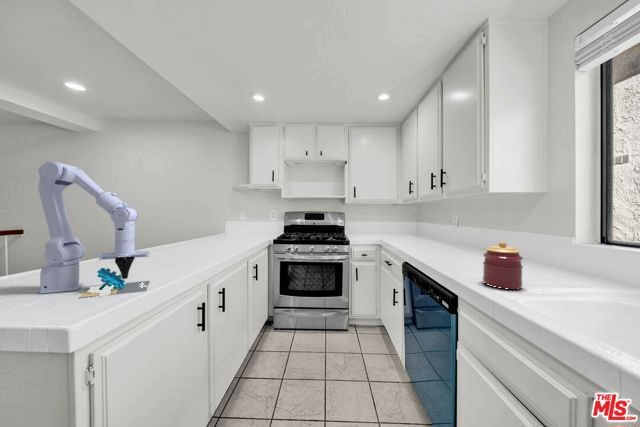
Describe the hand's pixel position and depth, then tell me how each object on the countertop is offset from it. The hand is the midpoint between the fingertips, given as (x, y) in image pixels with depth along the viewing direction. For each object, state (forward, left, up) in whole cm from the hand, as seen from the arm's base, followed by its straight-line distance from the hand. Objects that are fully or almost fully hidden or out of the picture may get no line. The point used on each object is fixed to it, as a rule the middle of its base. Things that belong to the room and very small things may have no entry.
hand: (125, 278), depth 96 cm
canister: (+130, -59, -4) cm, 143 cm away
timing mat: (-2, 0, -4) cm, 4 cm away
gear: (-4, 0, -4) cm, 5 cm away
